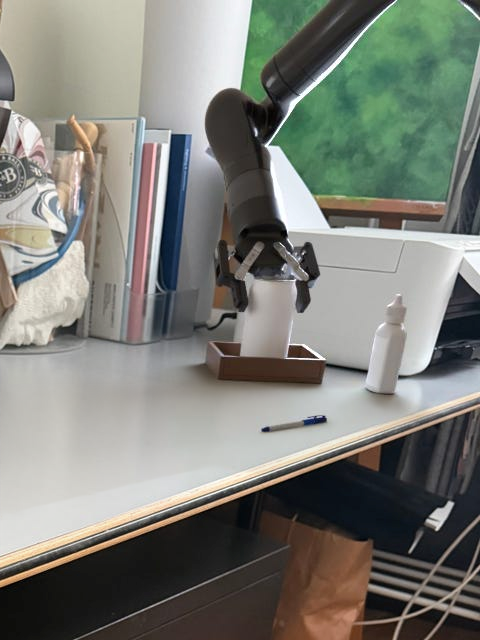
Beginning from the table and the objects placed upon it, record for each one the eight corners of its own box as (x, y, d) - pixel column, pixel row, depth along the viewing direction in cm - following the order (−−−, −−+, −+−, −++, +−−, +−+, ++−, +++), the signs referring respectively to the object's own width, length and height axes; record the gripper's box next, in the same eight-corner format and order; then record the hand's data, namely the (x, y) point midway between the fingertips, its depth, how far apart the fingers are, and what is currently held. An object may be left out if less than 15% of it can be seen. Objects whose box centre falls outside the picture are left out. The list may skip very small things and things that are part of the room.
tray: (301, 366, 138) (304, 344, 137) (322, 383, 128) (326, 360, 126) (205, 362, 139) (207, 341, 137) (217, 379, 128) (220, 356, 127)
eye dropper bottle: (357, 391, 124) (376, 295, 118) (367, 384, 128) (386, 291, 122) (391, 395, 122) (412, 298, 116) (401, 388, 126) (421, 294, 120)
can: (288, 366, 135) (302, 277, 129) (280, 374, 129) (295, 282, 124) (243, 361, 137) (255, 274, 131) (234, 369, 132) (246, 278, 126)
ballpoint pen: (321, 421, 109) (322, 413, 108) (327, 423, 108) (329, 414, 108) (260, 432, 104) (261, 423, 103) (266, 434, 103) (267, 425, 102)
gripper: (216, 192, 129) (233, 290, 124) (314, 194, 130) (334, 291, 126) (199, 231, 136) (214, 325, 131) (292, 233, 138) (311, 326, 133)
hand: (273, 309), depth 128 cm, fingers open, 8 cm apart
